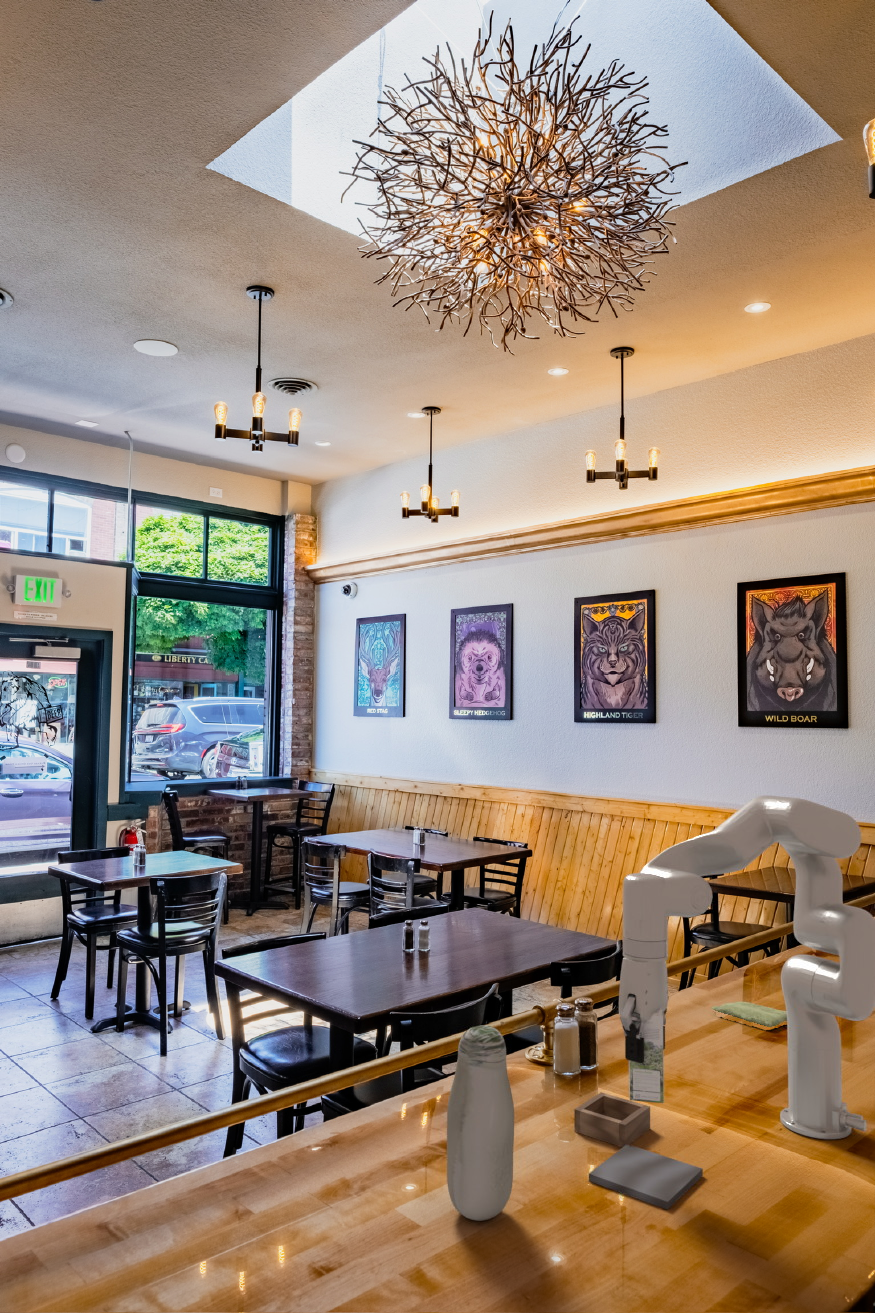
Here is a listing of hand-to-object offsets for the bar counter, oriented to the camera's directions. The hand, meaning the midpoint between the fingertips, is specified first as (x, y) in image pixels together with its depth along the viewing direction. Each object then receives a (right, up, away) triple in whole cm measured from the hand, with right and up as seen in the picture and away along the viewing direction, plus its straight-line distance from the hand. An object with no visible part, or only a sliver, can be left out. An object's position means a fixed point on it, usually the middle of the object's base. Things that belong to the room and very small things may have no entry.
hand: (645, 1053), depth 153 cm
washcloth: (+47, -28, +83) cm, 100 cm away
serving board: (0, -20, -2) cm, 20 cm away
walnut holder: (-2, -22, +17) cm, 27 cm away
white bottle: (-29, -19, -13) cm, 37 cm away
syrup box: (0, -7, -1) cm, 7 cm away
